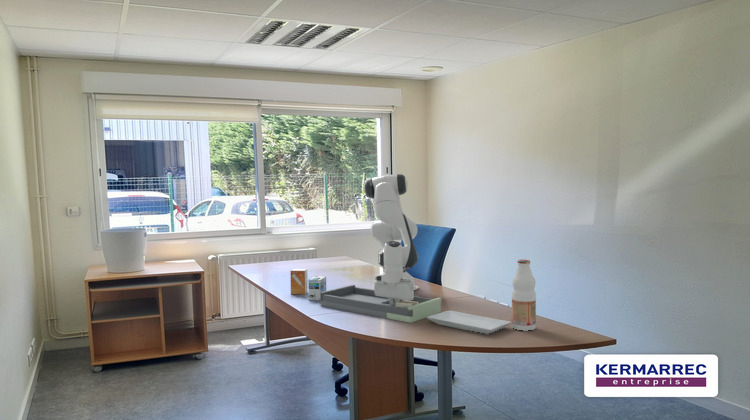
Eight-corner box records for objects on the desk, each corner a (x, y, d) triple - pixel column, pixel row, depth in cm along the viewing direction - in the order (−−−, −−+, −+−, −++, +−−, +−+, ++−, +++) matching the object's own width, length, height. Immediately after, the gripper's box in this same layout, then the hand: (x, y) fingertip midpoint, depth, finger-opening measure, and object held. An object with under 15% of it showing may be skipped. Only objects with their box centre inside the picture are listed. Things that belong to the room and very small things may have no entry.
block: (404, 309, 253) (404, 300, 253) (419, 310, 248) (418, 301, 248) (396, 311, 248) (396, 302, 248) (411, 313, 243) (410, 304, 243)
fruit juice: (515, 332, 223) (515, 262, 221) (508, 325, 232) (508, 258, 230) (539, 331, 223) (539, 261, 222) (531, 325, 233) (531, 258, 231)
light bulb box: (320, 300, 284) (320, 279, 283) (308, 300, 285) (307, 279, 284) (326, 296, 294) (326, 276, 294) (314, 296, 295) (314, 275, 295)
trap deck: (353, 297, 291) (353, 284, 291) (441, 311, 257) (441, 297, 257) (320, 305, 273) (320, 292, 272) (410, 322, 239) (410, 307, 238)
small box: (290, 294, 300) (290, 270, 299) (293, 292, 306) (292, 268, 305) (305, 294, 299) (305, 270, 298) (308, 292, 305) (307, 268, 305)
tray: (448, 317, 249) (448, 309, 249) (512, 329, 228) (512, 321, 228) (425, 324, 237) (425, 316, 236) (490, 338, 215) (490, 329, 215)
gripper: (416, 279, 248) (416, 309, 249) (380, 274, 261) (380, 303, 262) (408, 281, 244) (408, 312, 244) (371, 276, 256) (372, 306, 257)
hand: (394, 308), depth 253 cm, fingers closed
